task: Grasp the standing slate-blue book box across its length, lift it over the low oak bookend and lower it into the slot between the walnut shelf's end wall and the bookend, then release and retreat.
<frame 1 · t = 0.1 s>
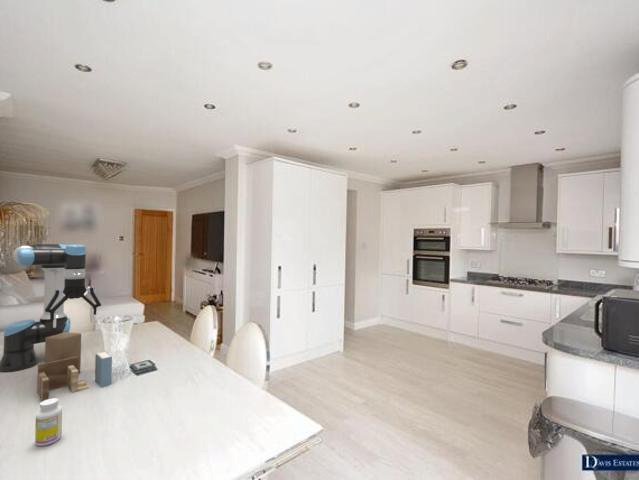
hand: (73, 324, 143), 28 cm above the table, fingers open, 13 cm apart
bookend: (72, 388, 141), on the table
book box: (103, 382, 147), on the table
wooden block: (62, 376, 154), on the table
supplement bottle: (48, 441, 103), on the table
shelf corner: (58, 387, 142), on the table
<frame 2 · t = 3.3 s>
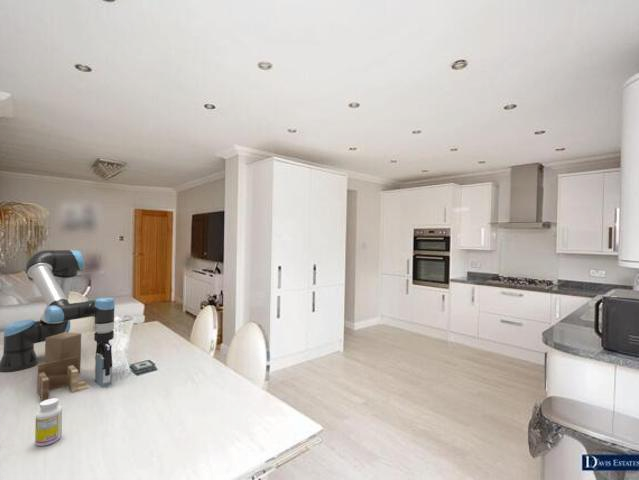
hand: (103, 378, 147), 2 cm above the table, fingers closed on book box, 10 cm apart
book box: (103, 382, 147), on the table, touching gripper
everything else where it was.
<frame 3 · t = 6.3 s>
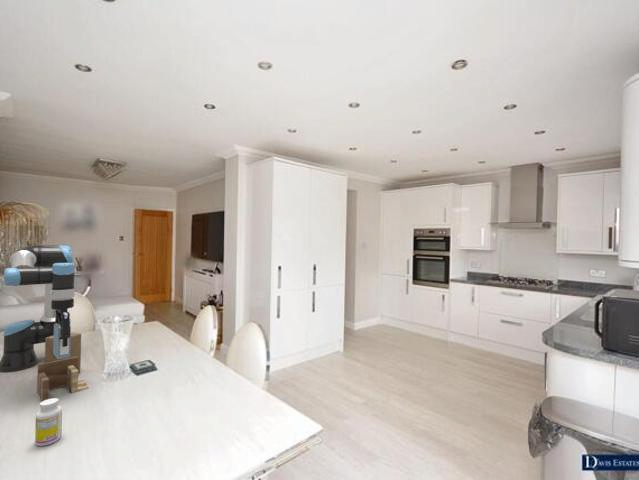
hand: (61, 351, 134), 19 cm above the table, fingers closed on book box, 10 cm apart
book box: (61, 355, 134), point 17 cm above the table, touching gripper
everything else where it was.
when the fingers open (3 cm above the table, at t = 9.1 s): book box drops 1 cm, on the table.
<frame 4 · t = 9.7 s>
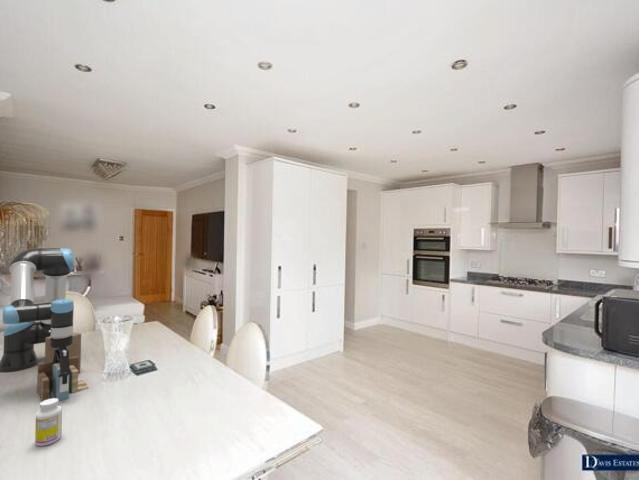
hand: (60, 386, 134), 4 cm above the table, fingers open, 13 cm apart
book box: (60, 396, 134), on the table
everything else where it was.
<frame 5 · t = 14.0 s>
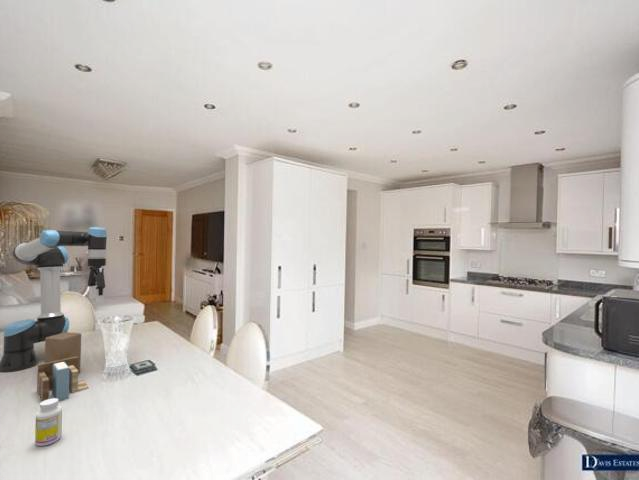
hand: (95, 300, 157), 37 cm above the table, fingers open, 13 cm apart
nothing on the table moved.
at the end: book box inside the target area (0.0 cm from its centre), on the table; book box tilted 0°; wooden block moved 0.2 cm from its start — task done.
